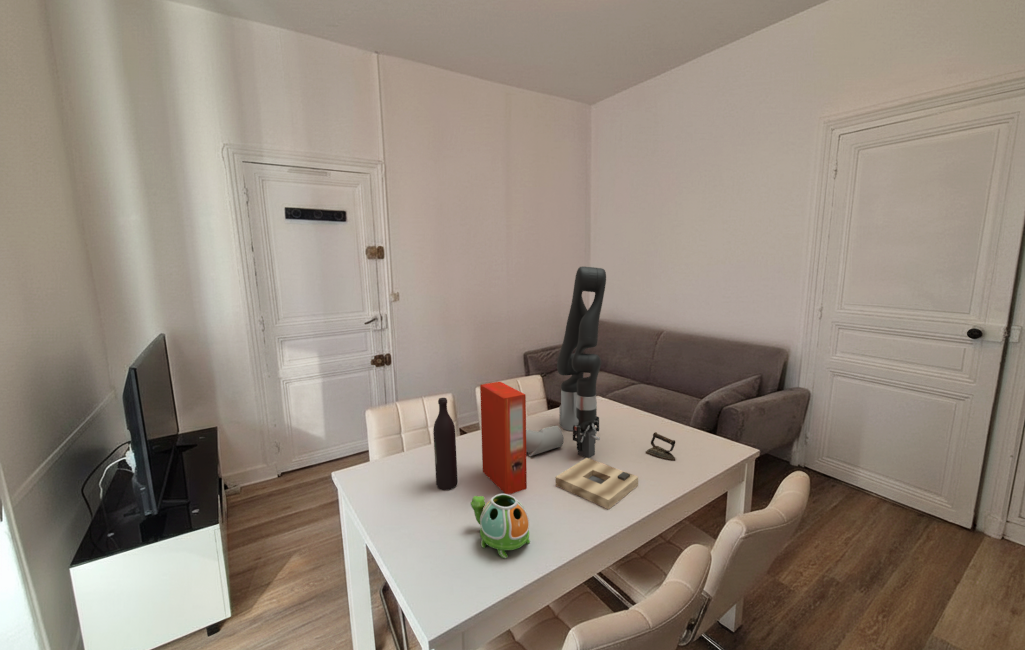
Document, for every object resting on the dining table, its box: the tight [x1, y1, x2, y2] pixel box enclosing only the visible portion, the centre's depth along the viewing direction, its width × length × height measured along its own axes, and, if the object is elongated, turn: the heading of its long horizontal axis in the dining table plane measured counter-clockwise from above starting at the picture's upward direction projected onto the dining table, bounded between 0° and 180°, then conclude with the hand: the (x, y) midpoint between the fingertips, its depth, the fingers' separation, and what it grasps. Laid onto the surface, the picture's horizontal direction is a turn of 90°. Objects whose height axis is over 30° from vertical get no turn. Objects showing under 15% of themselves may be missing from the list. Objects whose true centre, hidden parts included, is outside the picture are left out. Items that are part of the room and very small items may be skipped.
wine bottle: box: [432, 397, 458, 491], centre depth 135 cm, size 7×7×30 cm
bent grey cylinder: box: [526, 425, 565, 457], centre depth 162 cm, size 18×11×20 cm
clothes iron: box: [645, 431, 676, 462], centre depth 154 cm, size 7×11×10 cm, turn 36°
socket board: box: [554, 457, 639, 510], centre depth 135 cm, size 20×18×4 cm
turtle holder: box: [470, 493, 531, 559], centre depth 109 cm, size 12×18×12 cm
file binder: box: [479, 381, 528, 495], centre depth 137 cm, size 8×17×32 cm, turn 29°
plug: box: [577, 429, 600, 459], centre depth 155 cm, size 8×4×10 cm, turn 46°
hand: (586, 446), depth 156 cm, fingers open, 8 cm apart
